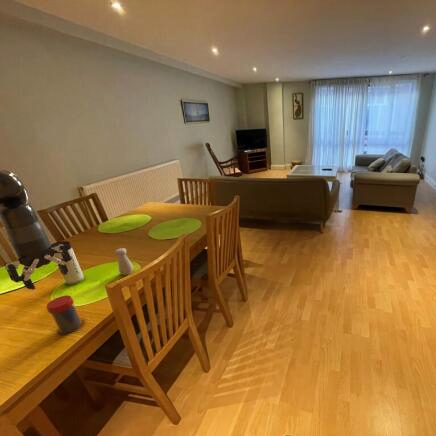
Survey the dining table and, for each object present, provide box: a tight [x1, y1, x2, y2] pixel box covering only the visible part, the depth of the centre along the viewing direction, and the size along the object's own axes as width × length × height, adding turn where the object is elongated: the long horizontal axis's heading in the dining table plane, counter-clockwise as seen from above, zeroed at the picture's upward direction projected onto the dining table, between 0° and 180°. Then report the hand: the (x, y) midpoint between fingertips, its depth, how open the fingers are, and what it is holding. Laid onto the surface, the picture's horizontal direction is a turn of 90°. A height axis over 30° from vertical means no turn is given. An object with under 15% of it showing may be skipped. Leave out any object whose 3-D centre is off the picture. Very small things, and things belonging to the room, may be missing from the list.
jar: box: [50, 303, 83, 335], centre depth 84 cm, size 6×6×11 cm
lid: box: [46, 294, 74, 315], centre depth 82 cm, size 6×6×2 cm
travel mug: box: [50, 240, 85, 286], centre depth 107 cm, size 6×7×20 cm
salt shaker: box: [114, 247, 134, 276], centre depth 114 cm, size 6×6×13 cm
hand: (49, 281), depth 79 cm, fingers open, 8 cm apart
